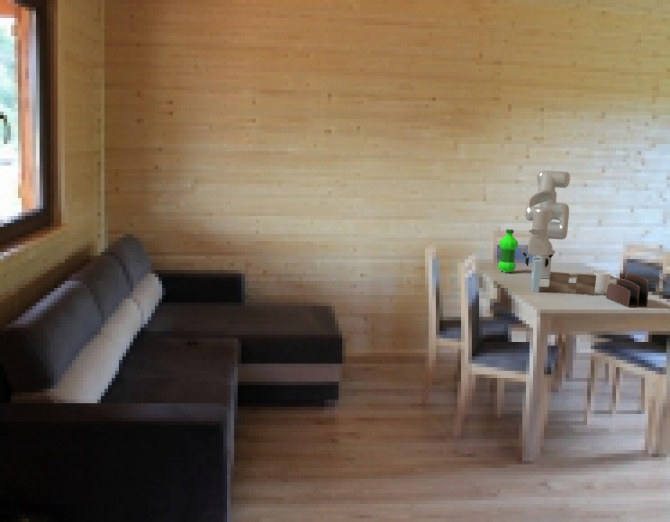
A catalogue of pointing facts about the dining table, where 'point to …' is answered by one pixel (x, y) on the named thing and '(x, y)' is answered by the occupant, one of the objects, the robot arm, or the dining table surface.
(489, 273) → the dining table surface
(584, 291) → the slotted board
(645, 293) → the letter holder
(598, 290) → the cup
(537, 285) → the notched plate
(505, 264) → the plastic bottle
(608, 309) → the dining table surface
